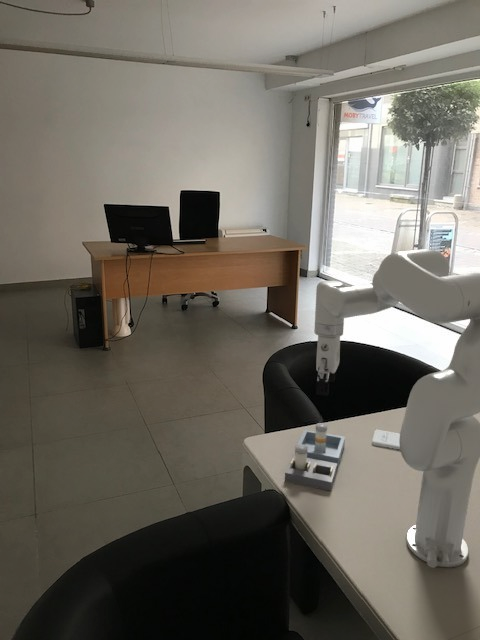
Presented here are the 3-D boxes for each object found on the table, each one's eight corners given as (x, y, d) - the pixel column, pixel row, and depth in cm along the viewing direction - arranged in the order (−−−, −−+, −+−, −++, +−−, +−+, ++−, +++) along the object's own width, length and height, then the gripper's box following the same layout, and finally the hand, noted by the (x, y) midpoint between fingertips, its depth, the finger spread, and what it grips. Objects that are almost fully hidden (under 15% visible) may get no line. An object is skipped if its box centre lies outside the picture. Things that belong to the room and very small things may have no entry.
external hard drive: (415, 454, 151) (371, 446, 155) (417, 440, 158) (374, 432, 162) (416, 449, 150) (372, 441, 154) (417, 436, 157) (375, 428, 162)
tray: (337, 467, 143) (338, 458, 142) (294, 459, 146) (295, 449, 145) (344, 446, 154) (345, 436, 153) (304, 438, 157) (304, 429, 156)
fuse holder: (330, 490, 133) (331, 478, 132) (284, 481, 136) (285, 469, 135) (336, 471, 141) (337, 460, 140) (292, 462, 145) (293, 451, 144)
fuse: (304, 478, 138) (306, 451, 135) (292, 476, 139) (294, 449, 136) (307, 472, 141) (308, 445, 138) (295, 469, 142) (296, 443, 139)
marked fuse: (324, 454, 148) (326, 429, 145) (313, 452, 149) (314, 427, 146) (326, 449, 151) (328, 424, 148) (315, 447, 152) (317, 422, 149)
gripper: (338, 339, 130) (334, 402, 135) (347, 320, 146) (344, 378, 150) (308, 335, 132) (305, 398, 137) (320, 318, 148) (318, 374, 153)
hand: (325, 387), depth 144 cm, fingers open, 9 cm apart
